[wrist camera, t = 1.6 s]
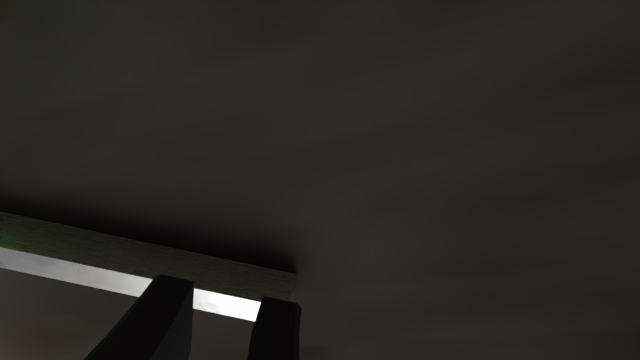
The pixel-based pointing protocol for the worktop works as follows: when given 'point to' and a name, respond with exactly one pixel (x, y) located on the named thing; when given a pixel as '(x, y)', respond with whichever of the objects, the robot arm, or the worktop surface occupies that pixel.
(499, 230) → the worktop surface
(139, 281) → the slot rails
